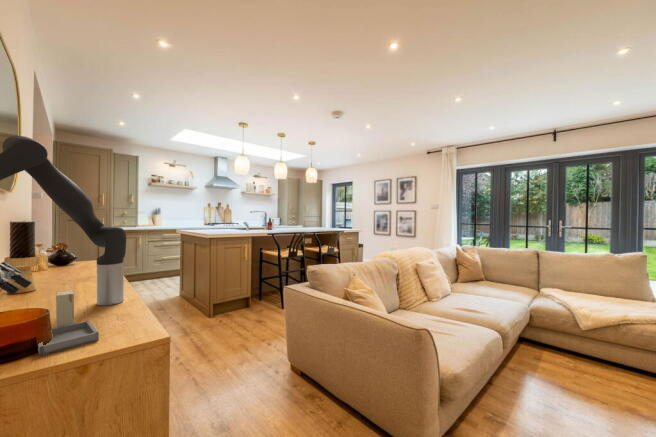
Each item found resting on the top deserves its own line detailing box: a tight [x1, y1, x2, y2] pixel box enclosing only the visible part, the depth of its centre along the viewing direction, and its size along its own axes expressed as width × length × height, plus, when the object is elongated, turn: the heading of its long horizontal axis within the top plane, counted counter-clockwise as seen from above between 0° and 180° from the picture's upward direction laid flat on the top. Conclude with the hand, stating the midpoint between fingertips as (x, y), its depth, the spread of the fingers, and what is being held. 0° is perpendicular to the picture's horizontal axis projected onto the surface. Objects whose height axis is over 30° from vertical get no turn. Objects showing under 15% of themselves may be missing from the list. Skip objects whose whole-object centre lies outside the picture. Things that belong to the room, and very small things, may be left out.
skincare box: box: [55, 290, 75, 328], centre depth 93 cm, size 6×4×12 cm
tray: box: [37, 319, 100, 357], centre depth 85 cm, size 15×13×2 cm
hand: (23, 288), depth 88 cm, fingers open, 8 cm apart
